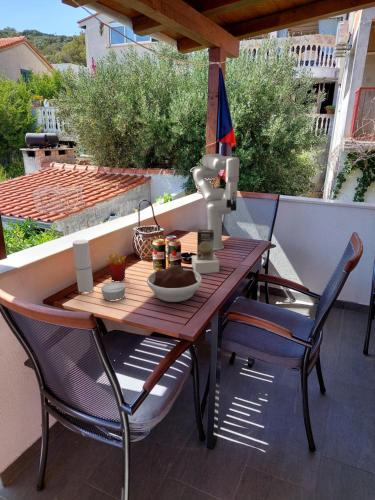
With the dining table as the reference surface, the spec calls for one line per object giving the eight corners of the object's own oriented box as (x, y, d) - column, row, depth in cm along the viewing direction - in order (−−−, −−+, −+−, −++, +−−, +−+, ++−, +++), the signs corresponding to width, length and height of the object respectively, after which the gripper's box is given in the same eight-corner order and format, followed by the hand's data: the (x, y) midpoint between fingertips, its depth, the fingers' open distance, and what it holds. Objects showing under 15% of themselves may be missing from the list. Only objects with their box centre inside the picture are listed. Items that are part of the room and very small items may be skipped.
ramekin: (114, 304, 151) (113, 294, 150) (96, 299, 157) (95, 288, 155) (131, 295, 160) (130, 285, 159) (113, 290, 166) (113, 280, 164)
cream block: (192, 265, 197) (191, 255, 195) (214, 264, 199) (214, 254, 197) (195, 273, 185) (195, 263, 183) (219, 272, 187) (219, 261, 185)
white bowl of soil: (153, 284, 171) (152, 256, 167) (203, 286, 169) (203, 257, 164) (142, 308, 148) (140, 275, 143) (199, 310, 145) (199, 277, 140)
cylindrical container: (80, 295, 161) (73, 244, 153) (77, 289, 167) (71, 241, 159) (95, 292, 164) (90, 242, 156) (91, 287, 170) (86, 238, 162)
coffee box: (196, 260, 188) (196, 232, 183) (197, 256, 194) (197, 229, 189) (213, 260, 187) (213, 232, 182) (213, 256, 193) (213, 229, 188)
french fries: (116, 277, 182) (113, 250, 177) (129, 278, 179) (127, 251, 175) (107, 283, 174) (104, 255, 169) (121, 285, 171) (119, 257, 167)
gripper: (222, 178, 203) (221, 206, 208) (229, 181, 186) (228, 212, 191) (234, 177, 203) (233, 206, 209) (242, 181, 187) (241, 211, 192)
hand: (231, 209), depth 200 cm, fingers open, 9 cm apart
